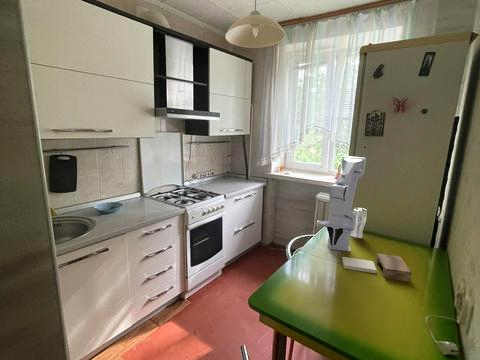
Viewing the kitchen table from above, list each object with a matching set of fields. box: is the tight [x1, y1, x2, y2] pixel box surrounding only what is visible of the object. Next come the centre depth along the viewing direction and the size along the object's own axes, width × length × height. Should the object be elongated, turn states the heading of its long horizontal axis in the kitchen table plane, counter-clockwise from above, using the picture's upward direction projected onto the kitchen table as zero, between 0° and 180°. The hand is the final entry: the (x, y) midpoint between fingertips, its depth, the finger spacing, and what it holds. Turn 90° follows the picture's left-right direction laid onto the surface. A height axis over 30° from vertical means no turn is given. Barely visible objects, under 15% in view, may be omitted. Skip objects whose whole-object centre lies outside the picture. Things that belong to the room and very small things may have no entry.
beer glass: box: [350, 206, 368, 239], centre depth 133 cm, size 7×7×15 cm
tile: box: [341, 256, 378, 274], centre depth 105 cm, size 12×7×2 cm, turn 74°
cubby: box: [375, 253, 413, 283], centre depth 102 cm, size 9×12×4 cm
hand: (332, 244), depth 106 cm, fingers closed
